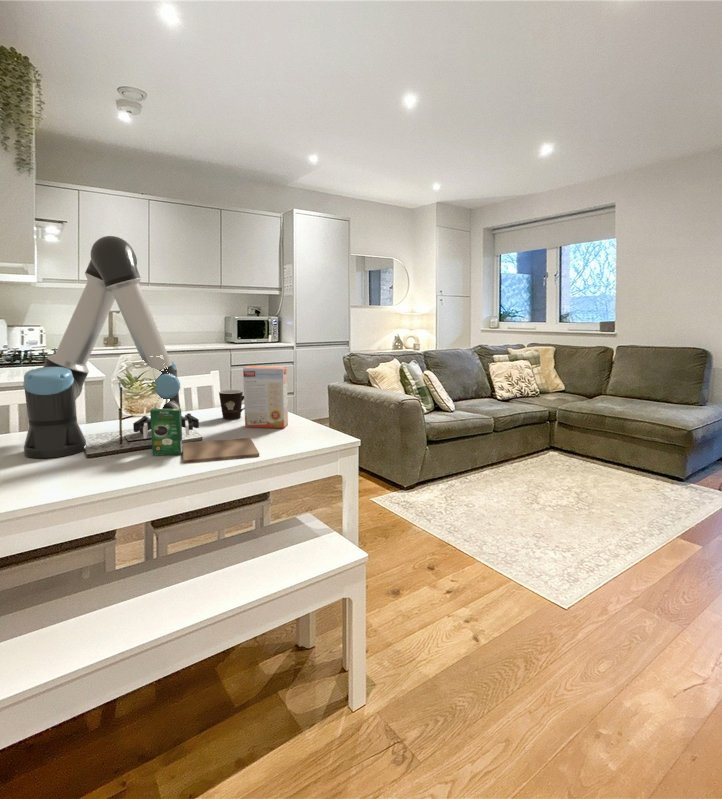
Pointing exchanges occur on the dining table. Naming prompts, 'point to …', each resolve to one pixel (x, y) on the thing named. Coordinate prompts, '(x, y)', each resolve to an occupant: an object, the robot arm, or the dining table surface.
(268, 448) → the dining table surface
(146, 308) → the robot arm
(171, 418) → the coffee box
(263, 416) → the cracker box
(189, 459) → the walnut board
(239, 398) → the coffee mug
